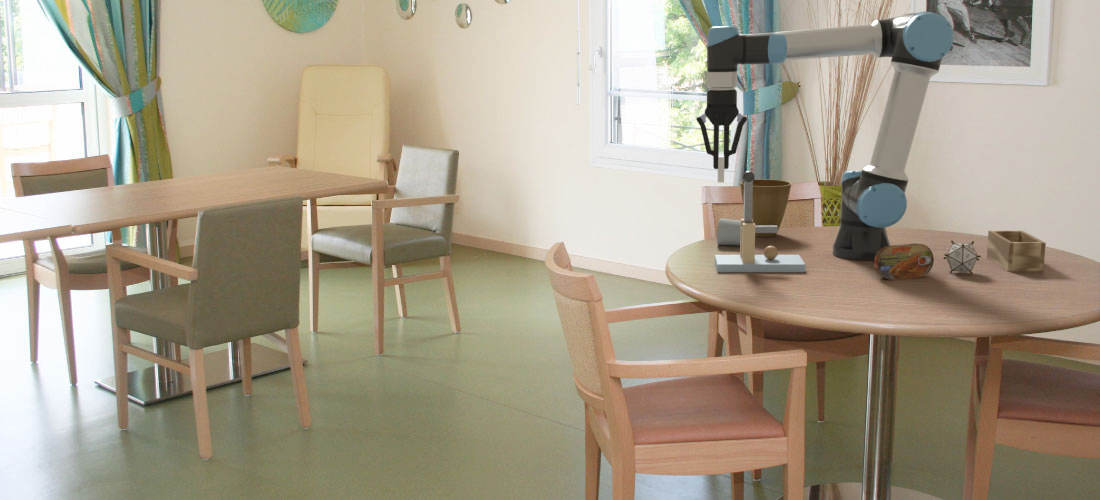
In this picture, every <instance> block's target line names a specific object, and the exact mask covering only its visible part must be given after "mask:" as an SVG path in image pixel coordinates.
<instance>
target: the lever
mask: <svg viewBox="0 0 1100 500" xmlns="http://www.w3.org/2000/svg"><path fill="white" fill-rule="evenodd" d="M741 178H742V181H744V206H743V219H744V223H752V205H753V181H754V180H755V179H756V175H755V173H754V172H752V171H750V170H747V171H745V172H743V174H742V176H741ZM741 230H742V232H743V225H742V227H741ZM755 233H777V234H778V233H779V230H778V226H777V225H755Z"/></svg>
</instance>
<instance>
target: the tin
mask: <svg viewBox="0 0 1100 500" xmlns="http://www.w3.org/2000/svg"><path fill="white" fill-rule="evenodd" d="M933 254H934V253H933V251H932V250H931V248H930V247H928V245H926V244H924V243H923V244H922V243H907V244H896V245H893V244H892V245H890V246H885V247H883V248H881V249H880V250H879V251H878V252H877V254H876V255H875V259H874V261H873V266H874V271H875V272H876V274H877V275H878V276H879V277H881V278H883V279H886V280H888V281H897V280H906V279H907V280H908V279H919V278H923V277H925V276H927V274H929V273H930V271H931V270H932V268H933V266H934V263H935V262H934V260H935V258H934V255H933Z"/></svg>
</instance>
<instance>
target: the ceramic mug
mask: <svg viewBox="0 0 1100 500" xmlns="http://www.w3.org/2000/svg"><path fill="white" fill-rule="evenodd" d="M740 229H741V220H739V219H729V218H722V217H721V218H719V220H718V222H717V229H716V244H717V245H718V246H734V247H736V246H737V247H739V246H740Z"/></svg>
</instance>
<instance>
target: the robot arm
mask: <svg viewBox="0 0 1100 500" xmlns="http://www.w3.org/2000/svg"><path fill="white" fill-rule="evenodd" d="M953 43H954V31H953V28H952V26H951V24H950V22H949V20H947V18H945V17H944V16H942V15H941V14H940V13H939V14H938V13H935V12H932V11H920V12H913V13H907V14H903V15H900V16H895V17H891V18H884V19H875V20H874V21H873V22H872V23H871V24H863V25H861V24H860V25H850V26H849V25H847V26H836V27H834V26H833V27H823V28H811V29H799V30H788V31H787V30H786V31H775V32H774V31H773V32H763V33H762V32H761V33H760V32H759V33H756V32H755V33H747V34H746V33H740V32H739V29H738V26H733V25H732V26H712V27H710V28H708V32H707V45H706V68H707V69H706V88H708V89H707V91H706V108H705V109H704V112H703V113H702V114H701V115H699V116H697V117H696V118H695V119H696V121H697V123H698V124H699V127H700V130H701V135H702V139H703V143H704V146H705V151H706V153H707V155H710V156H712V157H713V158H712V160H713V165H712V167H713V168H714V170H717V183H725V170H728V169H729V167H730V165H729V164H730V161H729V159H730V156H732V155H735V154H737V149H738V146H739V141H740V139H741V135H742V131H743V127H744V125H745V124H746V122H747V121H748V117H747V116H745V115H743V114H741V113H740V112H739V109H738V106H737V105H738V90H736V88H737V87H738V65H771V66H772V65H777V64H780V65H781V64H783V63H785V61H796V60H798V61H799V60H808V59H821V58H822V59H824V58H834V57H837V58H838V57H849V56H863V55H864V56H865V55H873V57H875V58H891V60H890V65H891V66H892V67H893V69H894V74H893V76H892V80H891V84H890V89H889V91H888V96H887V98H886V103H885V107H884V111H883V114H882V118H881V121H880V126H879V130H878V133H877V136H876V140H875V144H874V148H873V151H872V155H871V159H870V163H869V164H868V165H866V166H864V167H862V169H861V170H846V171H844V172H843V174H842V176H841V178H842V179H841V181H840V185H841V197H840V198H841V199H840V202H841V203H840V223H839V225H840V226H839V229H838V232H837V234H836V237H835V239H834V242H833V245H832V254H833V256H836V257H839V258H841V259H842V258H843V259H850V260H860V261H861V260H862V261H864V260H866V261H869V260H870V261H871V260H872V261H873V260H874V259H875V255H876V254H877V252H878V251H879V250H880V249H881V248H883V247H885V246H891V243H890V239H889V236H888V233H887V229H886V228H888V227H891V226H893V225H896V224H897V223H898V222H900V220H902V218H903V217H904V215H905V213H906V211H907V208H908V200H907V196H906V190H907V187H908V183H909V177H908V176H907V174H906V172H905V170H906V166H907V162H908V159H909V156H910V152H911V149H912V144H913V142H914V137H915V134H916V130H917V127H918V123H919V119H920V116H921V112H922V109H923V105H924V101H925V98H926V94H927V92H928V91H927V90H928V87H929V83H930V80H931V77H933V76H934V75H936V74H938V73H939V71H940V67H941V64H942V60H943V58H944V57H945V56H946V55H947V54H948V53H949V51H950V50H951V48H952V45H953ZM736 118H737V119H736ZM707 119H708V121H709V122H710V123H711V125H713V142H712V143H713V144H712V146H713V149H712V148H711V145H710V139H709V134H708V131H707V126H706V123H707ZM735 120H736V122H737V124H736V128H735V133H734V136H733V140H732V144H731V148H730V126H731V124H733V122H734V121H735ZM720 126H723V155H719V153H720V152H719V149H720V148H719V147H720V144H719V143H720Z"/></svg>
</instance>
